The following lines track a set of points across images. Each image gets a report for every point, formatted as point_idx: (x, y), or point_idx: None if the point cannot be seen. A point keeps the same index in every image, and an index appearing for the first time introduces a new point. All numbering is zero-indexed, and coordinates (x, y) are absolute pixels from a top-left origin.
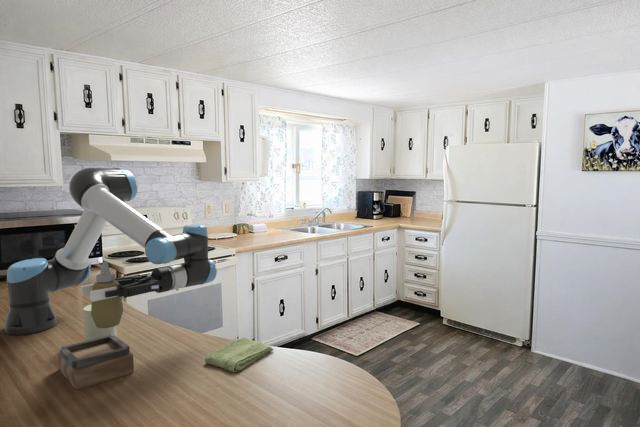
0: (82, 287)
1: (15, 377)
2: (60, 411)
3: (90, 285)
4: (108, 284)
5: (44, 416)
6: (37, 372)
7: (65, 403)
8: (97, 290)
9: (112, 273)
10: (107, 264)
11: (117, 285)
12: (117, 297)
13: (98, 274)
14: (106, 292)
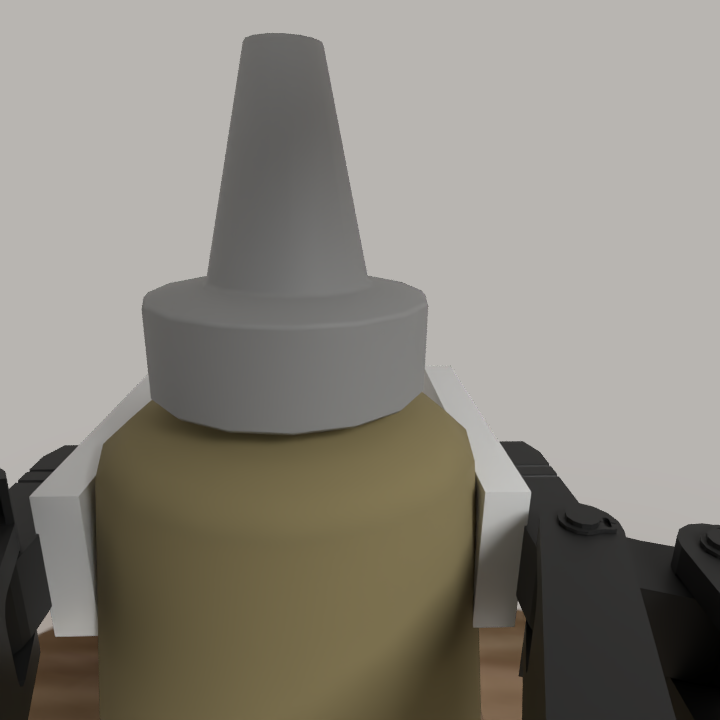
0: (425, 376)
1: (485, 628)
2: (38, 682)
3: (437, 397)
4: (145, 408)
5: (68, 641)
6: (491, 692)
7: (77, 710)
8: (139, 386)
9: (261, 309)
10: (237, 96)
11: (115, 524)
12: (101, 673)
13: (372, 277)
14: (64, 448)
